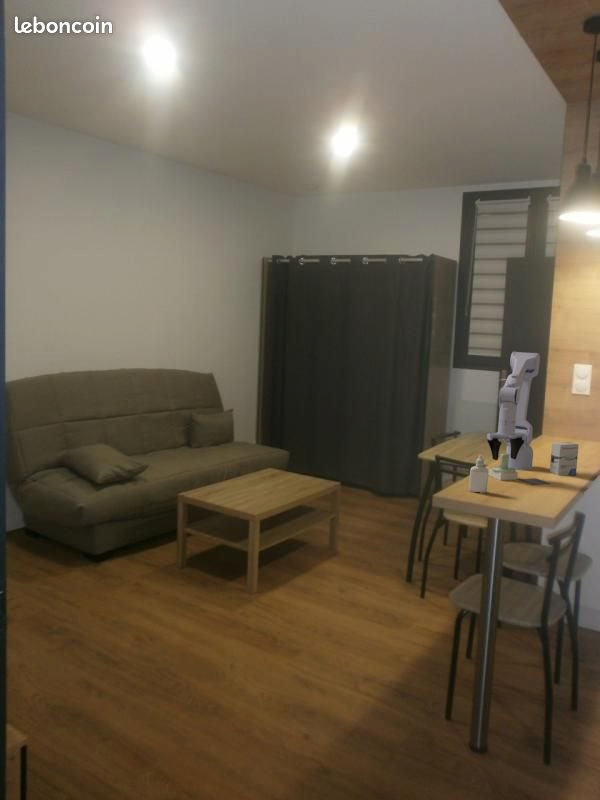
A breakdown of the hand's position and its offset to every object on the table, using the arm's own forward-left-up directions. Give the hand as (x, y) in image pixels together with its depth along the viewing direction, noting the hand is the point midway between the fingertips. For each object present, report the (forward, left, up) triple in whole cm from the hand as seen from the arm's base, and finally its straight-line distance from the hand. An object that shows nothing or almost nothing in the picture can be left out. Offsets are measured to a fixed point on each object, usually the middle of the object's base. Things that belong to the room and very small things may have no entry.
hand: (504, 459), depth 233 cm
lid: (0, 0, -4) cm, 4 cm away
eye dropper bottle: (+20, +14, -7) cm, 25 cm away
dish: (0, 0, -7) cm, 7 cm away
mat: (-8, +7, -7) cm, 13 cm away
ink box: (-27, -1, -7) cm, 28 cm away
